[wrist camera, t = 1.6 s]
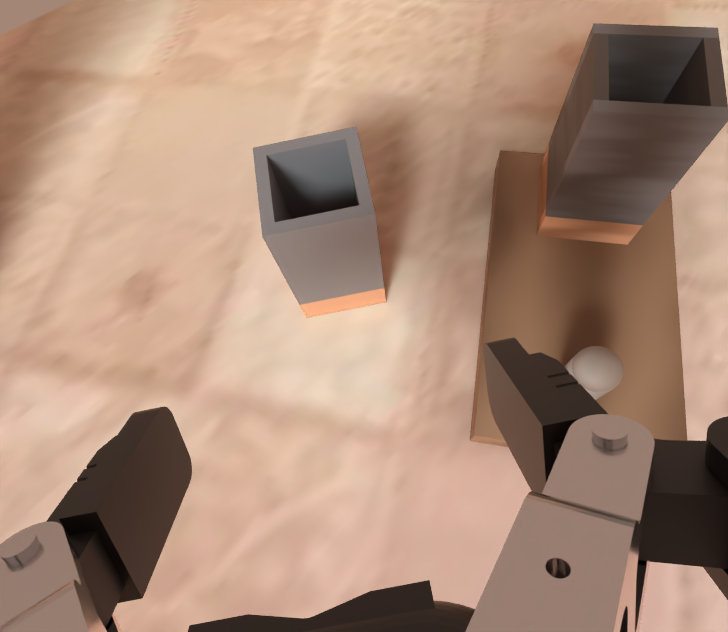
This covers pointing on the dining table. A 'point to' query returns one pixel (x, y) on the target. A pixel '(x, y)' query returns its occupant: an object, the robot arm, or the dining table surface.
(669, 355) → the pin board
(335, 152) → the sleeve
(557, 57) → the dining table surface
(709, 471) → the robot arm
